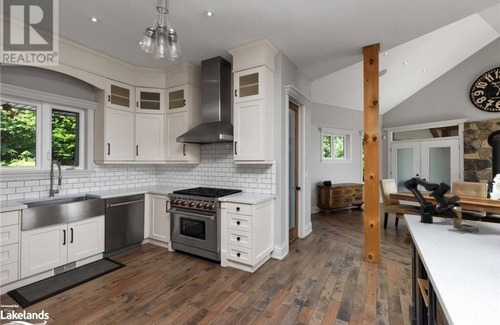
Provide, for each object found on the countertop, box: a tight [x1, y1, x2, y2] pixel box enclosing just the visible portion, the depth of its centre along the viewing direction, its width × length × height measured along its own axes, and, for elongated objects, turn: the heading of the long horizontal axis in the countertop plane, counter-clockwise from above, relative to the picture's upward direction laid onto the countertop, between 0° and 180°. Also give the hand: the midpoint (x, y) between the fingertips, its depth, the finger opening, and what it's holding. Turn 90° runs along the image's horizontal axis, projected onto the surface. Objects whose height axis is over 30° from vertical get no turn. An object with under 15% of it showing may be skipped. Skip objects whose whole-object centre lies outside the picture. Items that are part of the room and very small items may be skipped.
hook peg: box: [452, 206, 463, 229], centre depth 148 cm, size 4×4×14 cm
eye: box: [458, 223, 480, 234], centre depth 150 cm, size 8×8×3 cm
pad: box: [447, 228, 469, 235], centre depth 148 cm, size 8×7×1 cm
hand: (459, 217), depth 147 cm, fingers closed on hook peg, 4 cm apart
